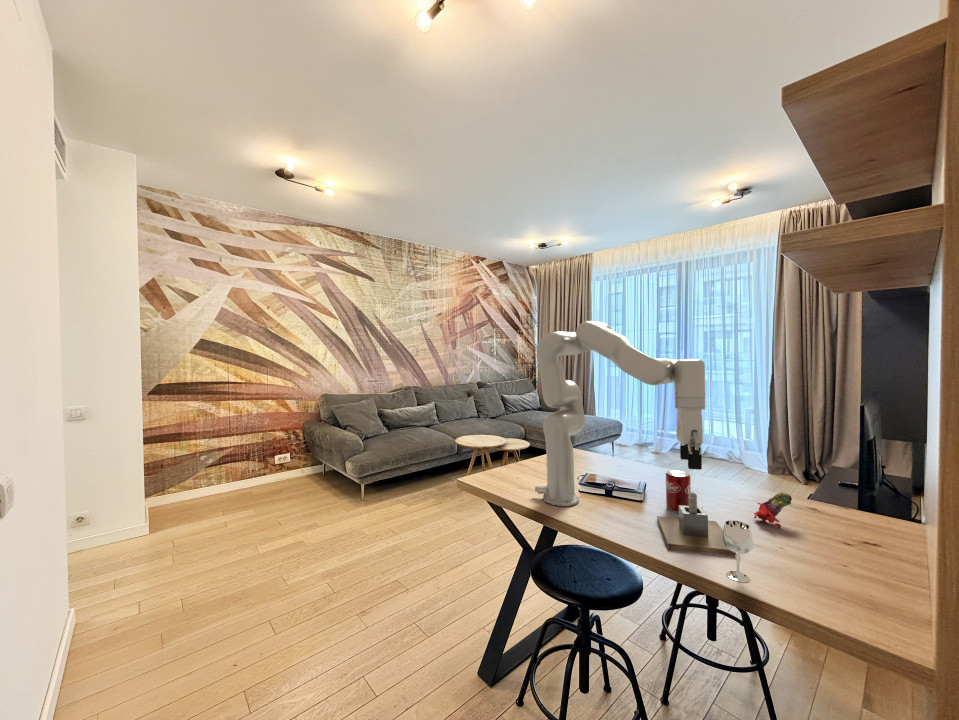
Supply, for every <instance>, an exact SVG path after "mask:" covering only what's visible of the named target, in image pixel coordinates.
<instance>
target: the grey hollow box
mask: <svg viewBox="0 0 959 720" xmlns="http://www.w3.org/2000/svg"><path fill="white" fill-rule="evenodd" d="M678 518H679V527H680V529H681V531H682V533H683V535H686V536H697V537H707V538H708V521H709V515H708V513H707V512H706V511H705V509H704V508H703V507H702V506H697V513H690V512H689V506H681V505H679V513H678Z"/></svg>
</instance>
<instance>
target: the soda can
mask: <svg viewBox="0 0 959 720" xmlns="http://www.w3.org/2000/svg"><path fill="white" fill-rule="evenodd" d="M691 479H692V478H691V475H690V474H689V473H688V472H686V471H683V470H667V471H666V472H665V501H666V503H665V504H666V505H665V507H666V508H667V510H668V511H671V512H673V513H676V514H679V505H681V506H689V493H691V491H692V488H691V487H692V486H691V484H692V483H691Z"/></svg>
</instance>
